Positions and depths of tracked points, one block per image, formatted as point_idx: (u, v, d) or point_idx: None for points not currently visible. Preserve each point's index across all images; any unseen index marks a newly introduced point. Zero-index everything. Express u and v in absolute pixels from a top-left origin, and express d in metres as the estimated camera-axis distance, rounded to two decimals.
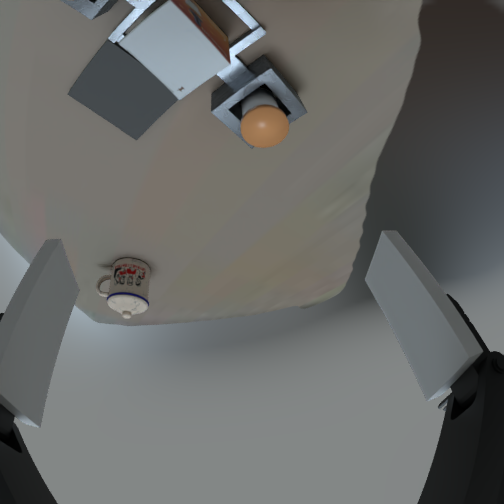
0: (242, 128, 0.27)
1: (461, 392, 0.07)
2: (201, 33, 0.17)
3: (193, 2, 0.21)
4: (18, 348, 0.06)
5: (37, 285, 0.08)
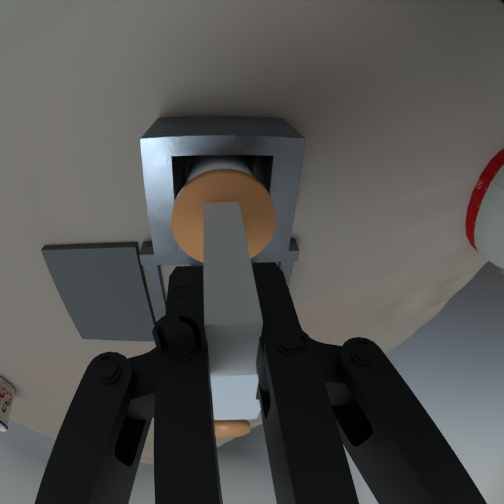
0: None
1: (262, 383, 0.08)
2: None
3: None
4: None
5: (224, 237, 0.11)
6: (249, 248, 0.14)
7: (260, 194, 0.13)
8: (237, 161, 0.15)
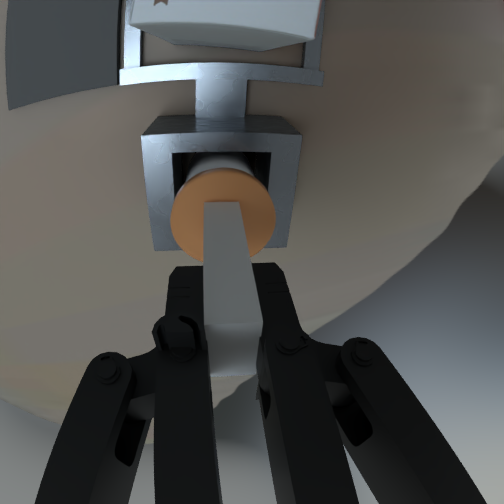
0: (184, 194, 0.12)
1: (262, 383, 0.08)
2: None
3: None
4: None
5: (224, 237, 0.11)
6: None
7: None
8: None
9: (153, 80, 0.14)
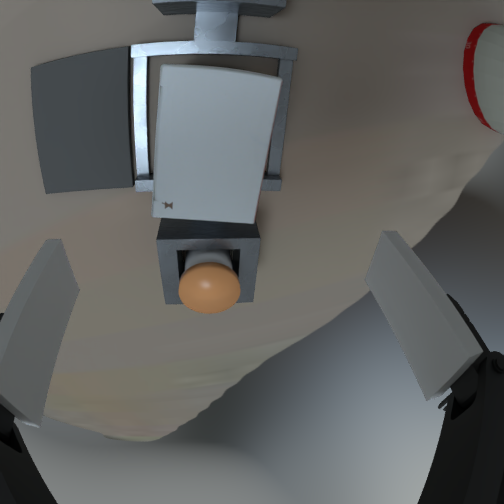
0: (186, 278, 0.22)
1: (461, 392, 0.07)
2: (264, 158, 0.14)
3: None
4: (18, 348, 0.06)
5: (37, 285, 0.08)
6: None
7: None
8: None
9: None
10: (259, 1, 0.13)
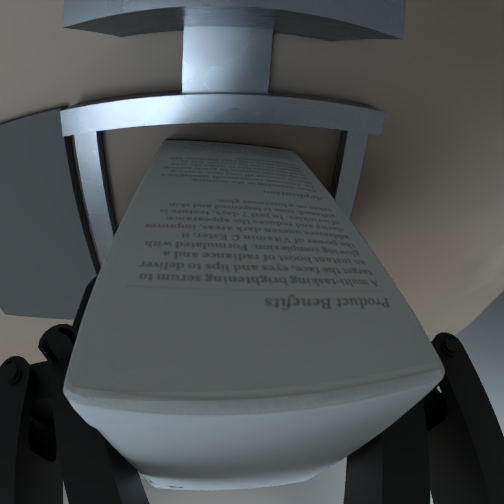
0: None
1: None
2: (347, 455, 0.06)
3: None
4: None
5: None
6: None
7: None
8: None
9: None
10: (345, 15, 0.05)
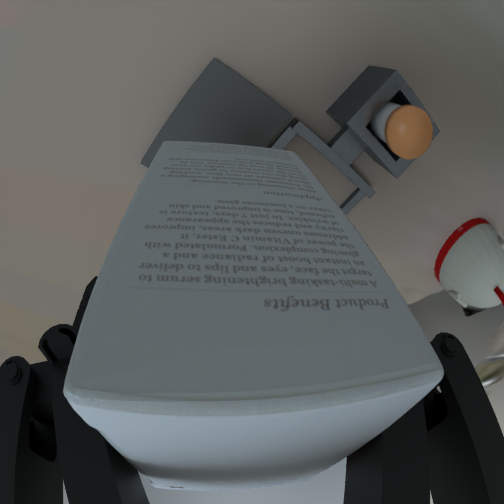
0: None
1: None
2: None
3: None
4: None
5: None
6: (409, 153, 0.22)
7: (430, 134, 0.21)
8: None
9: None
10: (389, 167, 0.25)
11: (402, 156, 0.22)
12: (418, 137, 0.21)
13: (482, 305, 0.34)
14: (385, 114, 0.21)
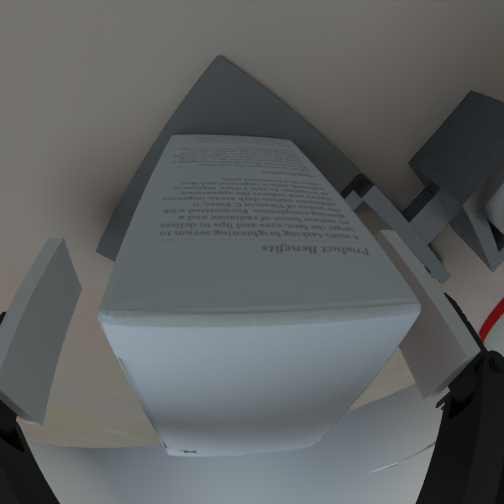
0: None
1: (459, 391, 0.07)
2: (347, 408, 0.07)
3: None
4: (21, 347, 0.06)
5: (40, 283, 0.08)
6: None
7: None
8: None
9: None
10: (490, 260, 0.14)
11: None
12: None
13: None
14: None
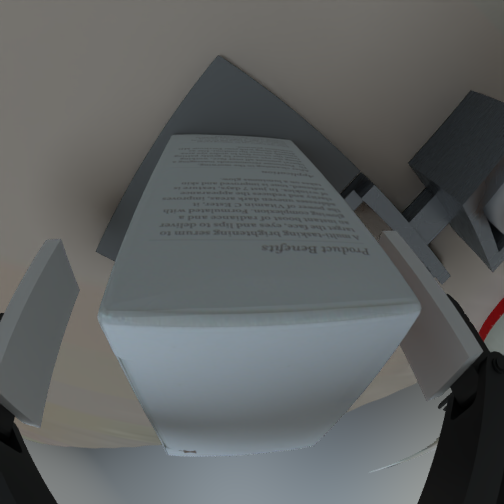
0: None
1: (461, 392, 0.07)
2: (347, 408, 0.07)
3: None
4: (18, 348, 0.06)
5: (37, 285, 0.08)
6: None
7: None
8: None
9: None
10: (490, 260, 0.14)
11: None
12: None
13: None
14: None
